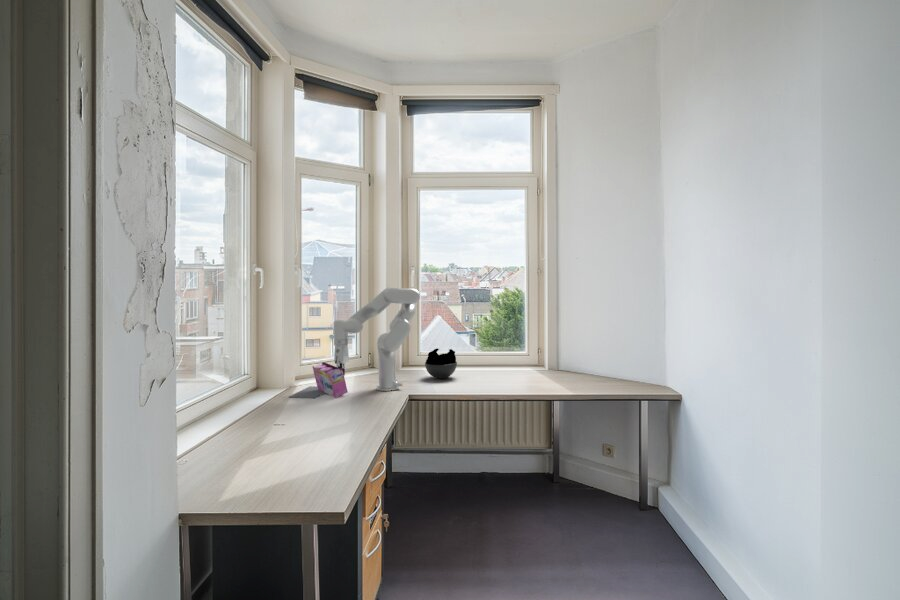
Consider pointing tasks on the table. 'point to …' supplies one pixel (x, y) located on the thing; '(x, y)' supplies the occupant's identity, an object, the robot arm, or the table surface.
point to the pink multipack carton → (330, 379)
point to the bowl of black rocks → (441, 364)
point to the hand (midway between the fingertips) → (341, 375)
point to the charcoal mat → (308, 393)
